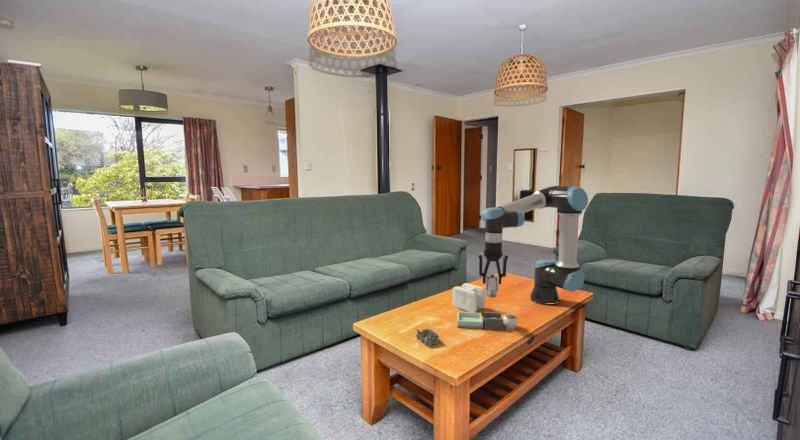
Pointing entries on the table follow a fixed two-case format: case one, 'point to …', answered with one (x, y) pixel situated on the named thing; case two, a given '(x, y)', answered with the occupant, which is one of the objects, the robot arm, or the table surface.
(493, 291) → the steel cell
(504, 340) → the table surface
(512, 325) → the cup
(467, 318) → the tray
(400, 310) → the table surface
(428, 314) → the table surface
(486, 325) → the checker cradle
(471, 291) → the cable organizer
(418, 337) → the dark grey lumpy ring
